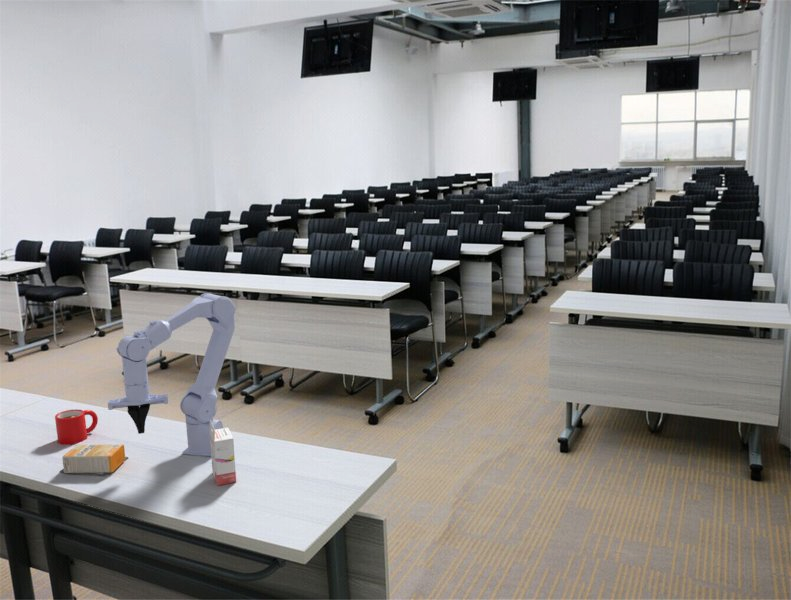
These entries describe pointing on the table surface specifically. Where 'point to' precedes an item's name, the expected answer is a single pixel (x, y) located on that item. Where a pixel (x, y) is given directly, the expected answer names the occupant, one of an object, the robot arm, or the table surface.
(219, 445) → the ink cartridge box
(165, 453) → the table surface
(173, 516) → the table surface
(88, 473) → the mat
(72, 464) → the supplement box
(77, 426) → the mug
